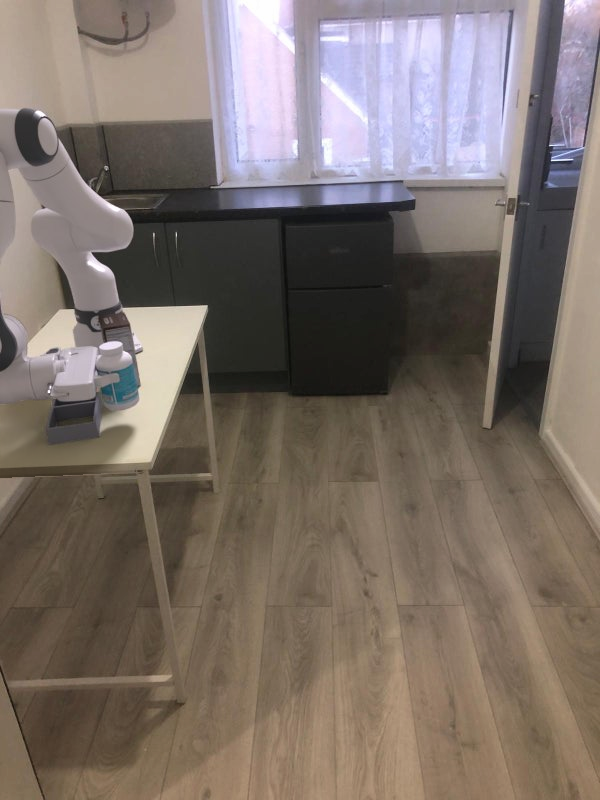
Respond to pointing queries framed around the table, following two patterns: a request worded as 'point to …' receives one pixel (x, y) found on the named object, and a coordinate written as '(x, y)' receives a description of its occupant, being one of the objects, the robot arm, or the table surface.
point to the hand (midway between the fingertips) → (119, 368)
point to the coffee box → (119, 335)
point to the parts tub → (71, 412)
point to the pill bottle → (119, 361)
